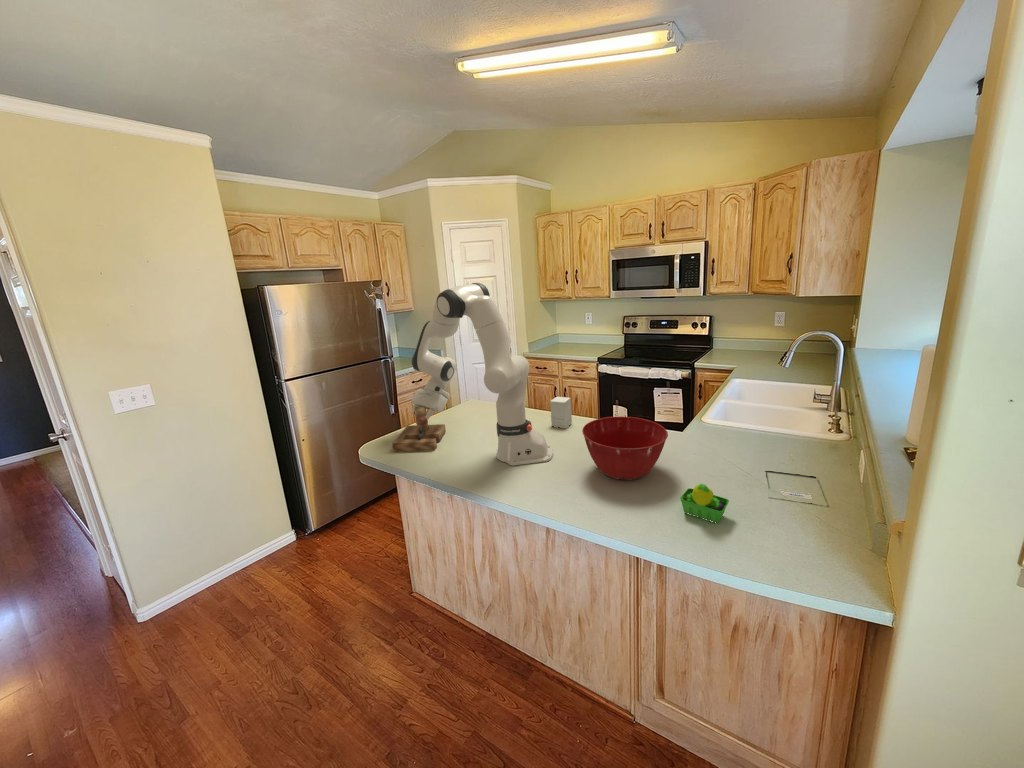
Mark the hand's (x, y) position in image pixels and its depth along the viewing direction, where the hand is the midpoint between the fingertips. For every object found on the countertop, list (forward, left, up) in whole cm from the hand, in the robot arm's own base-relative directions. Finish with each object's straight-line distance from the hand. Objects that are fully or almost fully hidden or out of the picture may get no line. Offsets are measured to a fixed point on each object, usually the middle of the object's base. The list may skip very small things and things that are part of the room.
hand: (419, 416), depth 189 cm
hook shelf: (0, +4, -10) cm, 11 cm away
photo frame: (-132, +51, -11) cm, 142 cm away
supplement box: (-63, -9, -11) cm, 65 cm away
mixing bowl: (-83, +37, -11) cm, 92 cm away
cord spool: (0, -1, -6) cm, 6 cm away
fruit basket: (-100, +65, -11) cm, 120 cm away
